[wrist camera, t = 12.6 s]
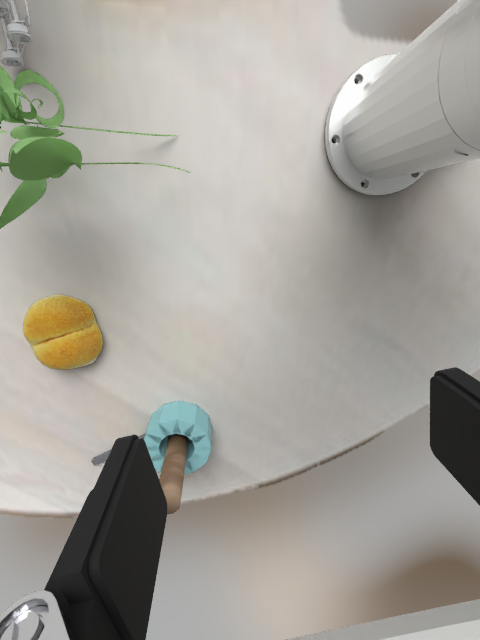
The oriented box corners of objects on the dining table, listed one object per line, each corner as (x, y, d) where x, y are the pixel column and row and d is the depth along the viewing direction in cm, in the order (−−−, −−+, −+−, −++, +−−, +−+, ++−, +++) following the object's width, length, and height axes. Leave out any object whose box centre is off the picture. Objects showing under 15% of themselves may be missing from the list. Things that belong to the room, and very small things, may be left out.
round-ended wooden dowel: (187, 418, 42) (176, 492, 31) (192, 433, 43) (182, 511, 32) (168, 422, 42) (150, 497, 31) (173, 437, 43) (158, 516, 32)
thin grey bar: (146, 433, 43) (145, 436, 42) (149, 437, 43) (148, 440, 42) (92, 458, 44) (91, 461, 43) (96, 462, 44) (94, 465, 43)
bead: (203, 396, 42) (201, 414, 38) (216, 445, 44) (216, 467, 40) (141, 409, 42) (133, 428, 38) (159, 458, 44) (153, 480, 40)
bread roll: (85, 285, 36) (70, 293, 32) (113, 353, 39) (102, 367, 35) (17, 302, 36) (-7, 312, 32) (50, 369, 39) (32, 385, 35)
